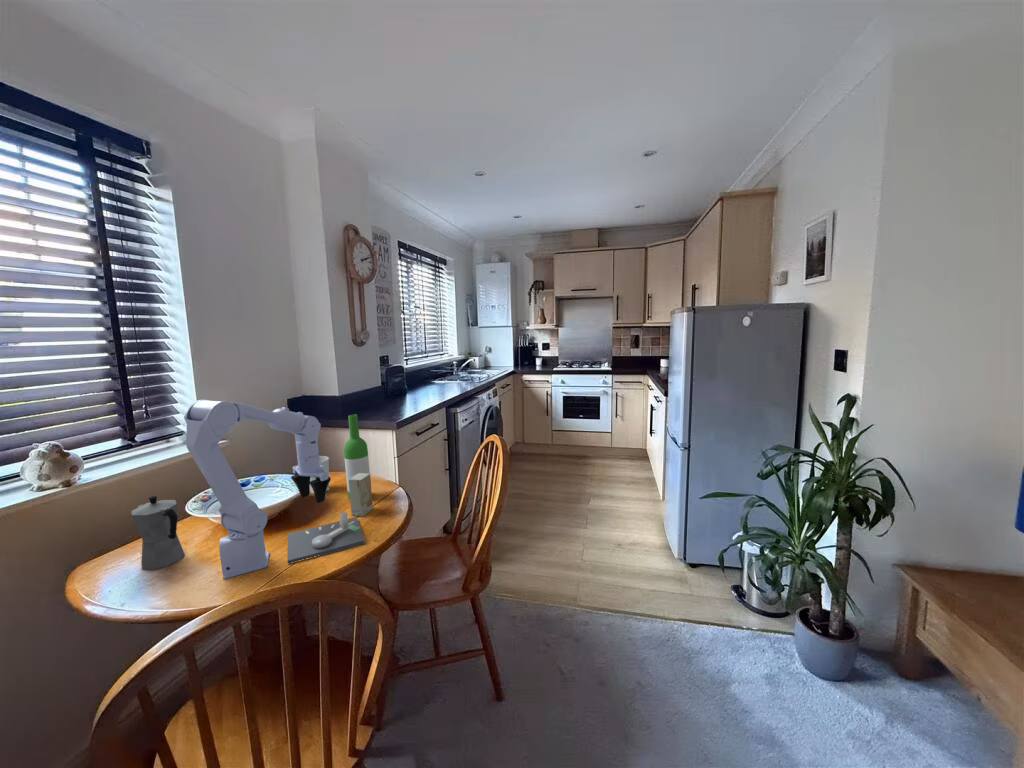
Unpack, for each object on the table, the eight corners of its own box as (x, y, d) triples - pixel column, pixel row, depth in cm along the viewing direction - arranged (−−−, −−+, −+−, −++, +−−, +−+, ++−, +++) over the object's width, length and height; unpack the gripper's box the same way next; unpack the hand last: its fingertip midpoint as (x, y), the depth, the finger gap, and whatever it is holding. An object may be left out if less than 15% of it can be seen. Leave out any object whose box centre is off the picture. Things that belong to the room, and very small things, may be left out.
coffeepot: (127, 564, 106) (115, 500, 103) (169, 546, 115) (159, 486, 112) (161, 577, 100) (149, 509, 97) (203, 557, 108) (193, 494, 106)
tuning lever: (320, 549, 108) (318, 531, 107) (308, 545, 110) (306, 527, 110) (360, 526, 120) (358, 510, 119) (348, 523, 122) (346, 507, 121)
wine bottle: (343, 499, 143) (335, 416, 138) (363, 491, 149) (356, 411, 144) (356, 504, 138) (349, 418, 134) (376, 496, 144) (369, 414, 140)
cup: (303, 494, 148) (299, 463, 146) (317, 485, 155) (314, 455, 154) (323, 495, 146) (319, 463, 144) (336, 486, 154) (333, 456, 152)
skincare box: (363, 516, 129) (359, 480, 127) (350, 515, 130) (347, 479, 128) (373, 507, 135) (370, 472, 133) (362, 506, 136) (358, 472, 134)
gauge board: (287, 564, 104) (287, 560, 104) (288, 536, 118) (287, 533, 118) (365, 543, 113) (364, 539, 113) (356, 519, 127) (356, 516, 127)
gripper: (335, 455, 119) (340, 498, 121) (306, 448, 126) (311, 489, 128) (313, 462, 113) (318, 508, 115) (284, 454, 120) (289, 497, 122)
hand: (312, 499), depth 121 cm, fingers open, 7 cm apart
